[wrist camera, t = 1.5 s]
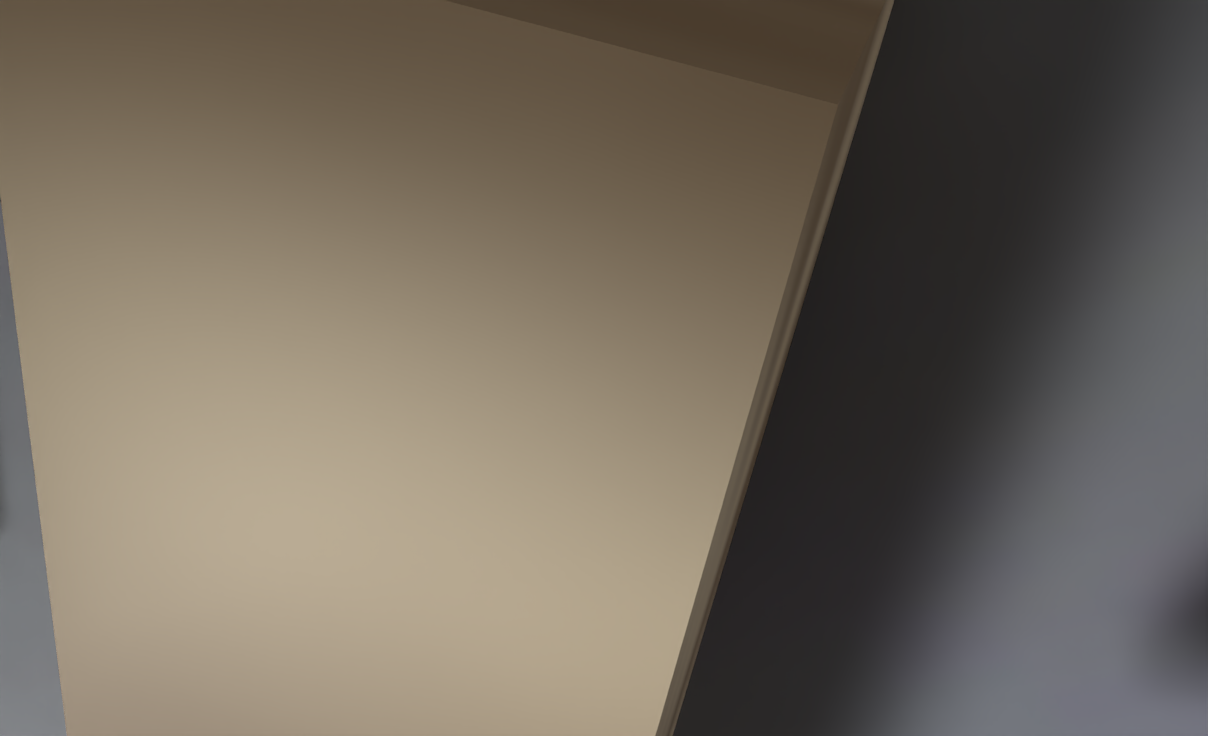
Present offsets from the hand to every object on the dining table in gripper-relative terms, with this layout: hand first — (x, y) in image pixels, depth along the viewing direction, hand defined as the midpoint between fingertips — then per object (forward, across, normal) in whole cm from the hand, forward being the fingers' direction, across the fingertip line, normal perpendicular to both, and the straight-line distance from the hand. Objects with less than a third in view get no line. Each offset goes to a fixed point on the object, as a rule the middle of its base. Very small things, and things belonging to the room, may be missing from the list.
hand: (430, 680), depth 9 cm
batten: (+2, 0, 0) cm, 2 cm away
